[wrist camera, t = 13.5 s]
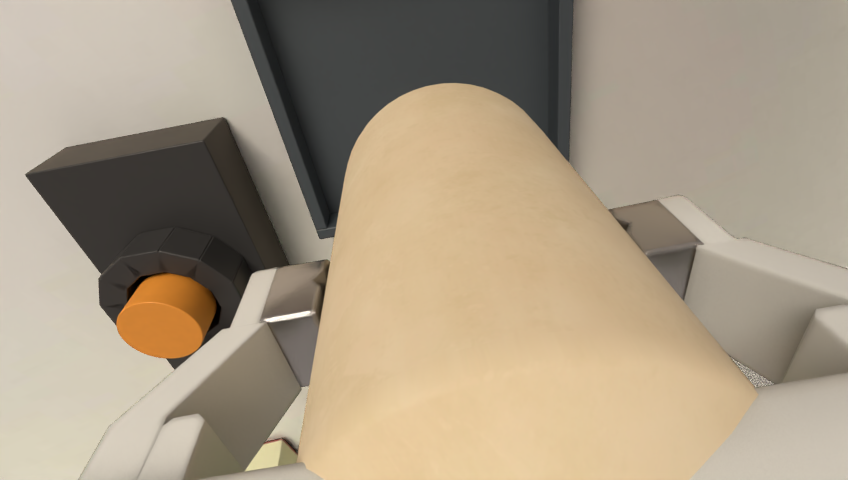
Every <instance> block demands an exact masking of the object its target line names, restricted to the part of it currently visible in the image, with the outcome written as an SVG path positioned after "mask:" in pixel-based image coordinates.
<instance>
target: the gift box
mask: <svg viewBox="0 0 848 480" xmlns="http://www.w3.org/2000/svg"><path fill="white" fill-rule="evenodd" d="M297 455H298V454H297V453H296V452H295V451H294V450H293V449H292V448H291V447H290V445H289V444H288V443H287V442H286V441H285V440H284V439H277V440H273V441H269V442H265V443H264V444H263V446H262V447H261V448H260V450H259V451H258V453H257V454H256V456H255V457H254V458H253V460H252V461H251V463H250V464H249V466H248V467H247V468H246V470H245V471H251V470H257V469H263V468H269V467H275V466H281V465H287V464H293V463H296V461H297Z"/></svg>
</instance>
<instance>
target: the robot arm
mask: <svg viewBox="0 0 848 480" xmlns="http://www.w3.org/2000/svg"><path fill="white" fill-rule="evenodd" d="M608 211H609V212H610V213H611V214H612V215H613V217H614V218H615V219H616V220H617V221H618V223H619V224H620V225H621V226H622V228H623V229H624V230H625V231H626V232H627V234H628V235H629V236H630V237H631V238H632V240H633V241H634V242H635V243H636V244H637V246H638V247H639V248H640V249H641V250H642V252H643V253H644V254H645V255H646V256H647V258H648V259H649V260H650V261H651V262H652V264H653V265H654V266H655V267H656V269H657V270H658V271H659V272H660V273H661V275H662V276H663V277H664V278H665V279H666V281H667V282H668V283H669V284H670V285H671V287H672V288H673V289H674V290H675V291H676V293H677V294H678V295H679V296H680V297H681V299H682V300H683V301H684V302H685V303H686V305H687V306H688V307H689V308H690V309H691V311H692V312H693V313H694V314H695V316H696V317H697V318H698V319H699V320H700V322H701V323H702V324H703V325H704V326H705V328H706V329H707V330H708V331H709V332H710V334H711V335H712V336H713V337H714V338H715V340H716V341H717V342H718V343H719V344H720V346H721V347H722V348H723V349H724V351H725V352H726V353H727V354H728V355H729V356H730V357H731V358H733V359H735V360H736V361H738V362H740V363H741V364H743V365H745V366H746V367H748V368H749V369H751V370H753V371H754V372H756V373H758V374H759V375H761V376H763V377H764V378H766V379H767V380H769V381H771V382H772V383H774V385H768V386H761V387H755V390H756V392H757V393H758V394H759V395H758V396H757V398H756V399H755V400H754V401H753V403H752V404H751V406H750V407H749V409H748V410H747V412H746V413H745V415H744V416H743V418H742V419H741V421H740V422H739V423H738V425H737V426H736V428H735V429H734V431H733V432H732V434H731V435H730V436H729V437H728V438H727V439H726V440H725V441H724V442H723V444H722V445H721V446H720V447H719V448H718V449H717V450H716V451H715V452H714V453H713V455H712V456H711V457H710V458H709V459H708V460H707V461H706V462H705V463H704V465H703V466H702V467H701V468H700V469H699V470H698V471H697V472H696V473H695V474H694V475H693V476H692V477H691V478H690V479H689V480H848V269H847V268H843V267H840V266H837V265H833V264H830V263H827V262H824V261H820V260H817V259H814V258H810V257H807V256H804V255H800V254H797V253H794V252H791V251H787V250H784V249H781V248H777V247H774V246H771V245H768V244H764V243H761V242H758V241H754V240H751V239H748V238H739V239H735V238H734V237H733V236H732V235H730V234H729V233H728V232H727V231H726V230H725V229H723V228H722V227H721V226H720V225H719V224H717V223H716V222H715V221H714V220H713V219H711V218H710V217H709V216H708V215H707V214H706V213H704V212H703V211H702V210H701V209H700V208H698V207H697V206H696V205H695V204H694V203H693V202H691V201H690V200H689V199H688V198H687V197H685V196H681V195H675V196H670V197H666V198H661V199H656V200H653V201H649V202H644V203H639V204H634V205H628V206H623V207H618V208H613V209H608ZM329 266H330V261H328V260H321V261H314V262H308V263H302V264H295V265H289V266H283V267H280V268H278V267H276V268H271V269H265V270H260V271H256V272H254V273H253V274H252V275H251V277H250V280H249V282H248V284H247V287H246V289H245V292H244V294H243V297H242V299H241V302H240V304H239V307H238V309H237V312H236V314H235V317H234V319H233V321H232V324H231V326H230V328H227V329H222V330H221V331H220V332H219V333H217V334H216V335H215V336H214V337H213V338H212V339H210V340H209V341H208V342H207V343H206V344H205V345H203V346H202V347H201V348H200V349H199V350H198V351H196V352H195V353H194V354H193V355H192V356H190V357H189V358H188V359H187V360H186V361H185V362H183V363H182V364H181V365H180V366H179V367H178V368H176V369H175V370H174V371H173V372H172V373H171V374H169V375H168V376H167V377H166V378H165V379H164V380H162V381H161V382H160V383H159V384H158V385H156V386H155V387H154V388H153V389H152V390H151V391H149V392H148V393H147V394H146V395H145V396H144V397H142V398H141V399H140V400H139V401H138V402H137V403H135V404H134V405H133V406H132V407H131V408H130V409H128V410H127V411H126V412H125V413H124V414H122V415H121V416H120V417H119V418H118V419H117V420H115V421H114V422H113V423H112V424H111V425H110V426H108V428H107V430H106V432H105V433H104V435H103V437H102V439H101V440H100V442H99V444H98V446H97V447H96V449H95V451H94V453H93V454H92V456H91V458H90V460H89V461H88V463H87V465H86V467H85V468H84V470H83V472H82V474H81V475H80V477H79V479H78V480H325V479H323V478H321V477H320V476H318V475H317V474H315V473H314V472H312V471H310V470H308V469H306V465H305V464H304V463H303V462H299V463H293V464H287V465H281V466H275V467H269V468H263V469H257V470H251V471H245V470H246V468H247V467H248V466H249V464H250V463H251V461H252V460H253V458H254V457H255V456H256V454H257V453H258V451H259V450H260V448H261V447H262V446H263V444H264V443H265V441H266V440H267V438H268V437H269V436H270V434H271V433H272V431H273V430H274V428H275V427H276V426H277V424H278V423H279V421H280V420H281V418H282V417H283V416H284V414H285V413H286V411H287V410H288V408H289V407H290V406H291V404H292V403H293V401H294V400H295V398H296V397H297V396H298V394H299V393H300V391H301V390H302V389H301V387H305V386H309V384H310V378H311V372H312V366H313V360H314V355H315V349H316V343H317V337H318V331H319V325H320V319H321V313H322V308H323V302H324V296H325V290H326V284H327V278H328V272H329Z"/></svg>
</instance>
